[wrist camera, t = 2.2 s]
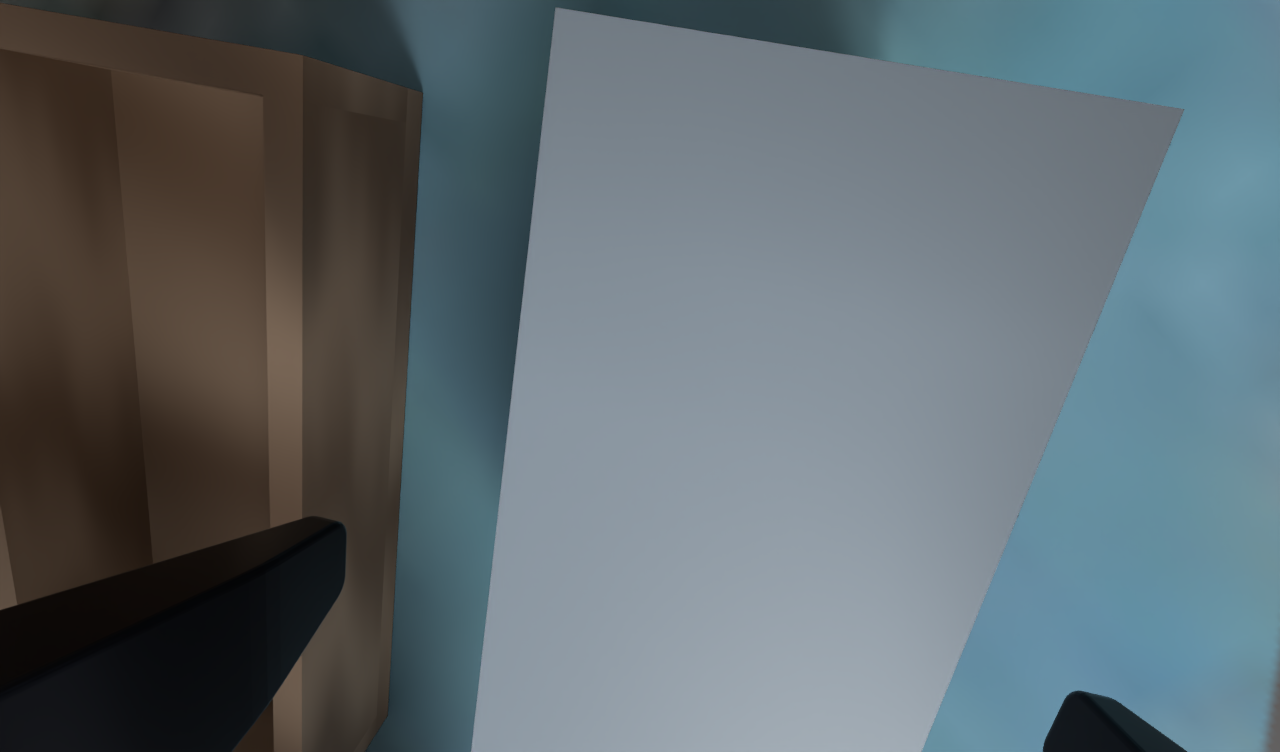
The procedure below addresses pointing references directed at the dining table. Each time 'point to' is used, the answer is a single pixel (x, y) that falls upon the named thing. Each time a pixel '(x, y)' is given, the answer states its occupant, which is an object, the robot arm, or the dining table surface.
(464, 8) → the dining table surface
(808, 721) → the white rectangular box
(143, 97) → the rack
